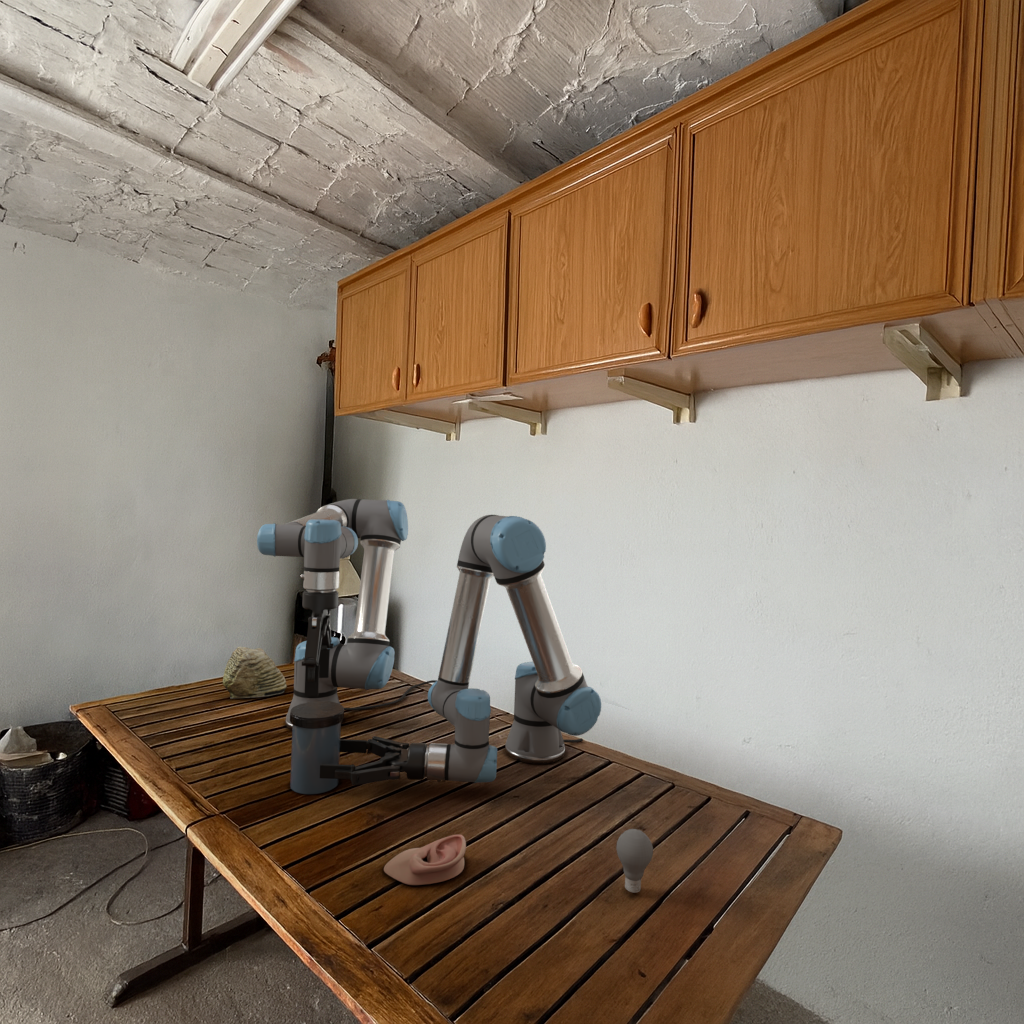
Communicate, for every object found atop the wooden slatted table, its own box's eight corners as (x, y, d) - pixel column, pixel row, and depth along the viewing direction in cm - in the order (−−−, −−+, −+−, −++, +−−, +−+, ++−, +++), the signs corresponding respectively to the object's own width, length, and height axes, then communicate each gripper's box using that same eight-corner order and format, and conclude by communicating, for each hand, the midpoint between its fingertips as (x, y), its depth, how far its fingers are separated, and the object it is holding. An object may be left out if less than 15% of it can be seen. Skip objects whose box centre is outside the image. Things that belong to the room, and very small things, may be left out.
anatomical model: (377, 856, 105) (402, 822, 117) (376, 879, 106) (401, 843, 117) (453, 868, 103) (472, 833, 114) (452, 892, 103) (471, 854, 114)
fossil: (218, 695, 195) (220, 647, 195) (278, 685, 208) (279, 640, 207) (228, 703, 189) (230, 653, 188) (289, 692, 201) (290, 645, 201)
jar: (320, 769, 147) (322, 700, 147) (348, 783, 141) (351, 711, 140) (280, 784, 139) (283, 711, 138) (308, 799, 133) (311, 722, 132)
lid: (323, 707, 147) (323, 697, 147) (354, 719, 141) (354, 709, 140) (279, 719, 138) (279, 709, 138) (310, 732, 132) (310, 722, 131)
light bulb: (610, 879, 108) (613, 822, 108) (644, 879, 109) (647, 822, 109) (619, 902, 102) (622, 840, 102) (655, 901, 103) (658, 840, 103)
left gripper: (313, 581, 151) (310, 670, 151) (290, 598, 126) (286, 704, 126) (346, 582, 152) (342, 670, 152) (329, 599, 127) (325, 704, 127)
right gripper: (417, 806, 126) (311, 801, 126) (432, 755, 151) (343, 751, 151) (419, 768, 126) (312, 764, 126) (434, 724, 151) (345, 720, 151)
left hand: (317, 686), depth 139 cm, fingers open, 13 cm apart
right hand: (329, 757), depth 138 cm, fingers open, 13 cm apart
